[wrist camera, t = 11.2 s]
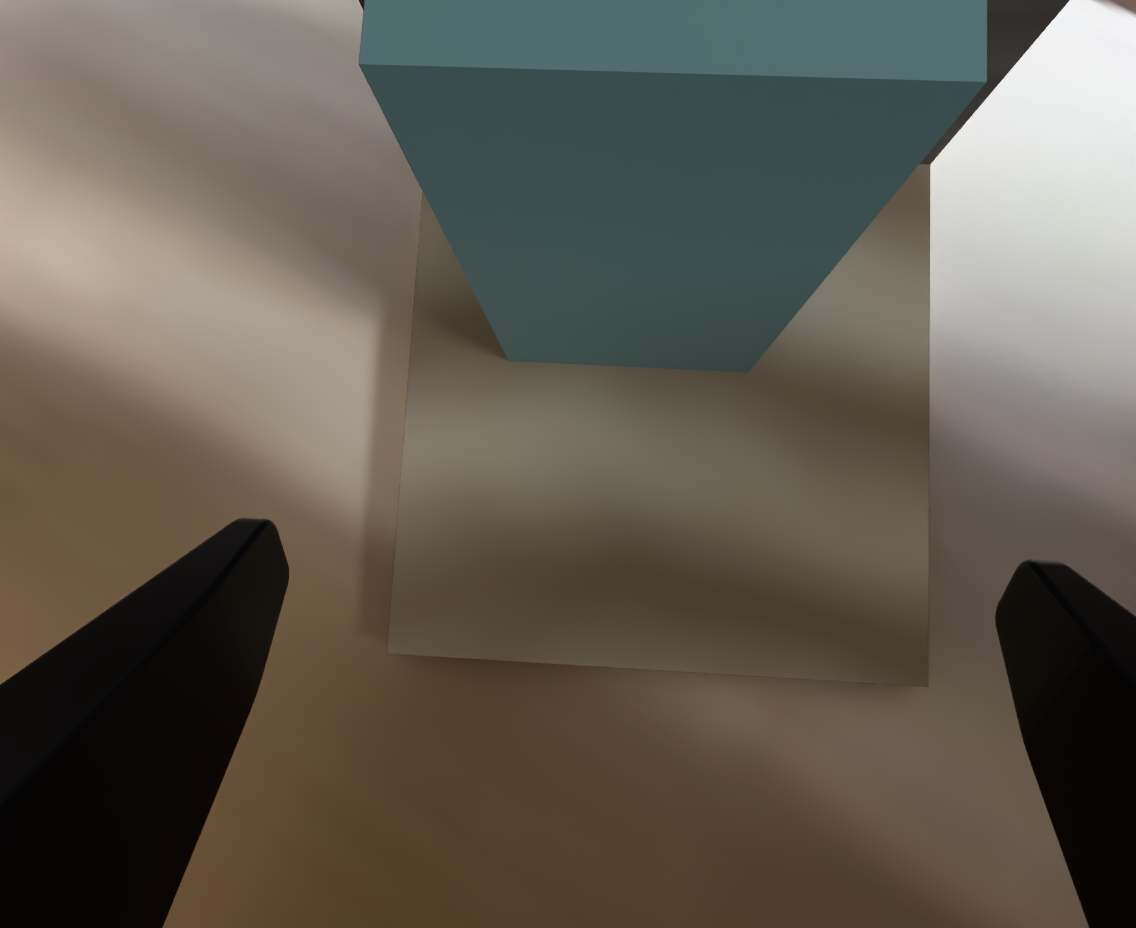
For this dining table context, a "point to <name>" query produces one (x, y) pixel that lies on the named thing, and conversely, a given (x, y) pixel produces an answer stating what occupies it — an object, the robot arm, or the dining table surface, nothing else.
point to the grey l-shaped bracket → (685, 476)
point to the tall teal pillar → (663, 155)
